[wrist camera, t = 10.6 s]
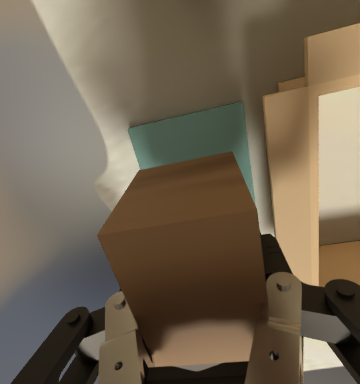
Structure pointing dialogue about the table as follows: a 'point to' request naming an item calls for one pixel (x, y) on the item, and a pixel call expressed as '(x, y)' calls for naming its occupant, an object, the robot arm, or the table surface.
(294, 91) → the carton
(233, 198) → the box
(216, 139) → the mat
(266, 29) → the table surface
